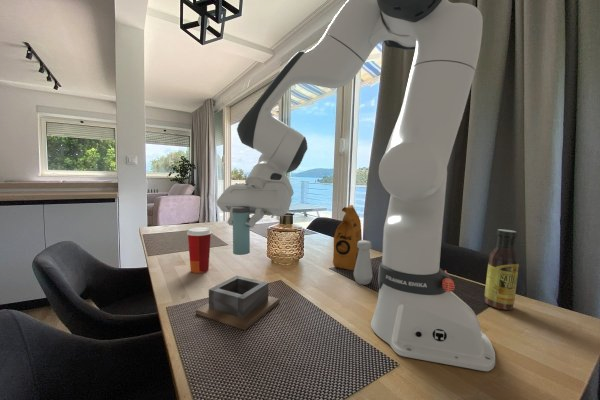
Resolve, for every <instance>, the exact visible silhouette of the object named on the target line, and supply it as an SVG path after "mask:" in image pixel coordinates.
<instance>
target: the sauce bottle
mask: <svg viewBox="0 0 600 400" xmlns="http://www.w3.org/2000/svg"><path fill="white" fill-rule="evenodd" d="M496 230H497V231H496V235H497V237H496V244H495V247H494V248H493V250H492V251H491V252H490V254H489V256H488V257H489V259H488V264H487V270H486V280H485V288H484V303H485V304H486V305H488V306H489V307H491V308H495V309H498V310H502V311H503V310H504V311H509V310H513V308H514V305H515V300H516V292H517V285H518V277H519V270H520V269H519V268H520V264H519V260H518V257H517V252H516V239H517V237H518V232H517V231H516V230H511V229H505V228H503V229H501V228H499V229H498V228H497V229H496Z"/></svg>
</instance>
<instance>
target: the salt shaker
mask: <svg viewBox="0 0 600 400" xmlns="http://www.w3.org/2000/svg"><path fill="white" fill-rule="evenodd" d="M372 245H373V244H372V242H371V241H370V240H365V239H362V240H361V241H358V243H357V247H358V248H359V252H358V256H357V261H356V265H355V269H354V270H353V278H354V280H355V282H356V284H359V285H363V286H364V285H365V286H366V285H369V284H370V283H371V281H372V279H373V269H372V268H373V267H372V261H371V260H372V259H371V253H370V250H371V249H372Z"/></svg>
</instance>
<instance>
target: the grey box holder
mask: <svg viewBox="0 0 600 400" xmlns="http://www.w3.org/2000/svg"><path fill="white" fill-rule="evenodd" d="M279 303H280V298H278V297H274V296H269V282H267V281H262V280H258V279H253V278H249V277H245V276H241V275H234V276H233V277H231V278H229V279H227V280H225V281H223V282H221V283H218V284H217V285H215V286H213V287H211V288H209V289H208V302H206V303H205V304H203V305H202V306H200V307H198V308H196V309H195V315H198V316H201V317H204V318H208V319H210V320H214V321H215V322H220V323H222V324H224V325H228V326H231V327H235V328H237V329H239V330H243V331H246V330H248V329H249V327H251V326H253V324H255V323H256V322H257V321H258V320H259V319H261V318H262V317H264V316H265V315H266V314H267V313H268V312H269V311H271V310H272V309H273V308H274V307H276V306H277V305H278V304H279Z"/></svg>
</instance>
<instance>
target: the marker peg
mask: <svg viewBox="0 0 600 400" xmlns="http://www.w3.org/2000/svg"><path fill="white" fill-rule="evenodd" d="M250 215H251V214H250V208H249V207H234V208H233V226H232V254H233V255H235V256H242V255H243V256H244V255H245V256H246V255H248V254H250V253H251V249H250V248H251V247H250V246H251V243H250V241H251V239H250V237H251V236H250V235H251V233H250V232H251V231H250V230H251V229H250V227H247V226H246V225H245V222H246V221H247V218H251V217H250Z"/></svg>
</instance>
